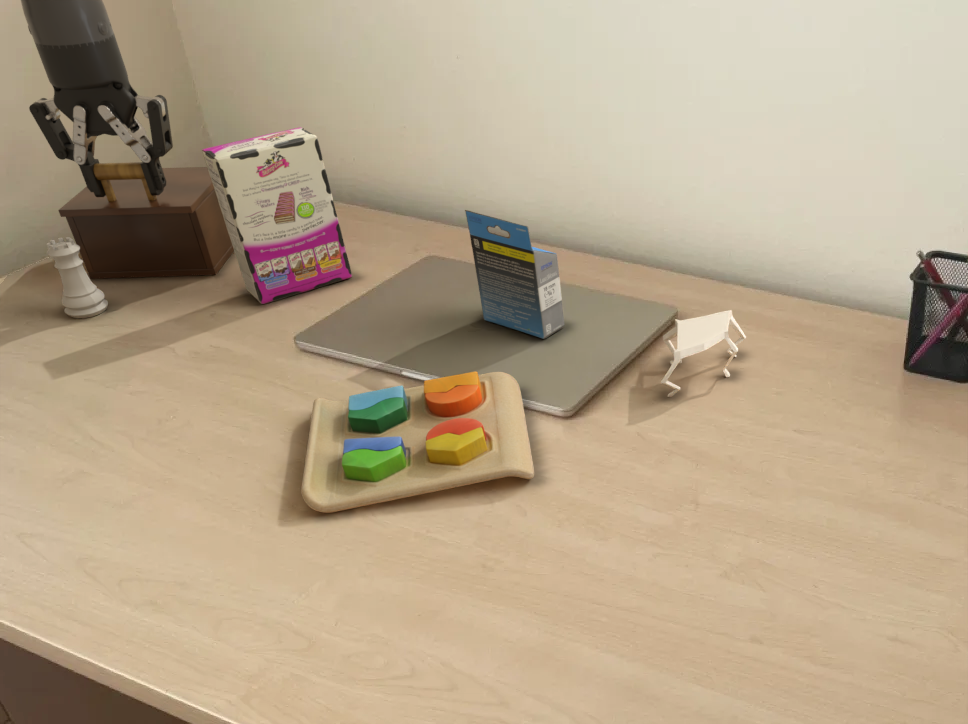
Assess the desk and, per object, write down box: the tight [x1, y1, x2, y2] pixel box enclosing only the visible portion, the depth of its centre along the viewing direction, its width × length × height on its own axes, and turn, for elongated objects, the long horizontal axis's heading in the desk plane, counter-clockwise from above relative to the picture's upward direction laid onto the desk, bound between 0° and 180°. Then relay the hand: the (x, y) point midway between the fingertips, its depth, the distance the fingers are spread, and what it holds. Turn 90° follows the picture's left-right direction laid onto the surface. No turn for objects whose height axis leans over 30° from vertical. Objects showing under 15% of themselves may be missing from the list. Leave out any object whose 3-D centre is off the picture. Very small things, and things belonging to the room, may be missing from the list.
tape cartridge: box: [464, 209, 565, 340], centre depth 110 cm, size 9×4×12 cm, turn 57°
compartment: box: [65, 189, 235, 280], centre depth 127 cm, size 13×15×8 cm
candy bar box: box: [201, 126, 353, 305], centre depth 118 cm, size 11×5×16 cm, turn 130°
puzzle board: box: [300, 371, 535, 514], centre depth 94 cm, size 18×19×4 cm
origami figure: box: [660, 309, 747, 398], centre depth 103 cm, size 12×8×5 cm
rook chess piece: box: [46, 236, 109, 319], centre depth 115 cm, size 4×4×8 cm
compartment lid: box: [58, 161, 214, 218], centre depth 123 cm, size 14×15×5 cm
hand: (130, 193), depth 120 cm, fingers closed on compartment lid, 5 cm apart
